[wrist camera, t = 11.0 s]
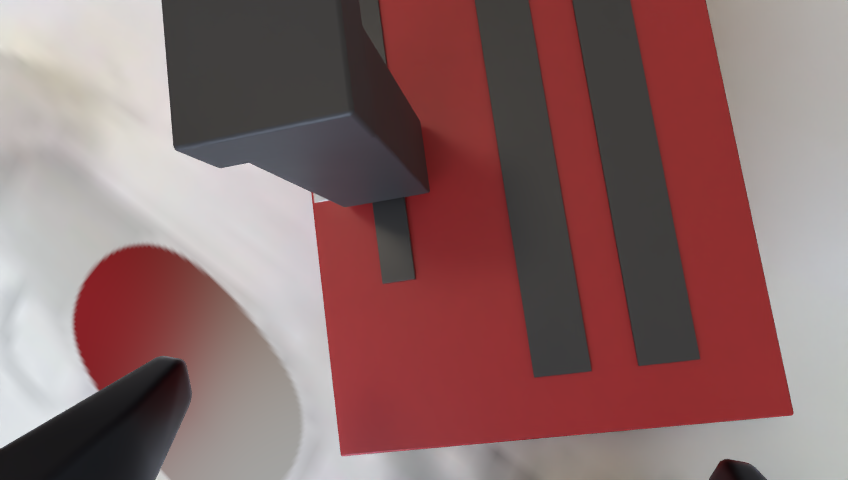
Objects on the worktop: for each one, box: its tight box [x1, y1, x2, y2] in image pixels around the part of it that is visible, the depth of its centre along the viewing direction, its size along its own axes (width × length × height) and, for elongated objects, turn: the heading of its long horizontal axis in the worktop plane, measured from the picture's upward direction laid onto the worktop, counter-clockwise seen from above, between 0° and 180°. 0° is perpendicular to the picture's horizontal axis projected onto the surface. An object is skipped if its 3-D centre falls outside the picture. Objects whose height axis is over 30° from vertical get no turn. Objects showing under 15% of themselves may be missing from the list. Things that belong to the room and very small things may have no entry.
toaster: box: [311, 0, 793, 456], centre depth 18 cm, size 16×11×8 cm
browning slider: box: [162, 0, 430, 207], centre depth 11 cm, size 2×3×7 cm
